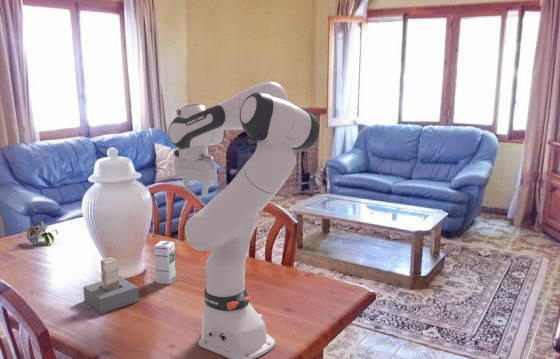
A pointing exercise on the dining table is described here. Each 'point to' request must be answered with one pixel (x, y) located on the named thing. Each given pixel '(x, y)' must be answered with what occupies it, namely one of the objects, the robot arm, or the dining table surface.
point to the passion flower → (39, 233)
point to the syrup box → (165, 262)
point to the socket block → (111, 296)
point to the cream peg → (109, 274)
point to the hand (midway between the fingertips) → (196, 192)
